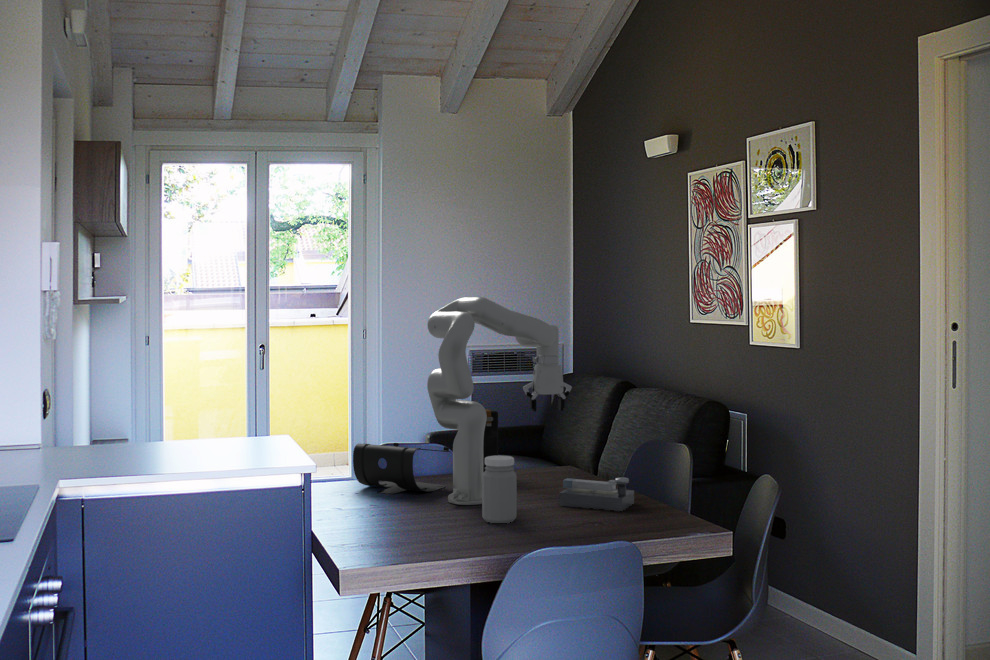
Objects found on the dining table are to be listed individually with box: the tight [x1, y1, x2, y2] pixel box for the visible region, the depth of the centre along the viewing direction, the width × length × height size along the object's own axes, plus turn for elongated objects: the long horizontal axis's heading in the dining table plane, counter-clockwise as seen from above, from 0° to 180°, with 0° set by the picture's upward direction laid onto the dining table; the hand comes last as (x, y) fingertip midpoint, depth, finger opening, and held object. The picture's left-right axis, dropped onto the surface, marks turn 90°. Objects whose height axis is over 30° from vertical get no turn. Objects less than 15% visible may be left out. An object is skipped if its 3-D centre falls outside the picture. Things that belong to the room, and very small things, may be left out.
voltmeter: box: [483, 408, 499, 473], centre depth 324 cm, size 16×9×25 cm, turn 25°
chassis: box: [558, 483, 635, 512], centre depth 278 cm, size 13×20×7 cm, turn 65°
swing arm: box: [562, 476, 630, 492], centre depth 278 cm, size 4×20×4 cm, turn 65°
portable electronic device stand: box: [352, 442, 452, 495], centre depth 304 cm, size 26×24×16 cm
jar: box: [481, 454, 518, 524], centre depth 255 cm, size 10×10×18 cm
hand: (547, 410), depth 308 cm, fingers open, 9 cm apart
